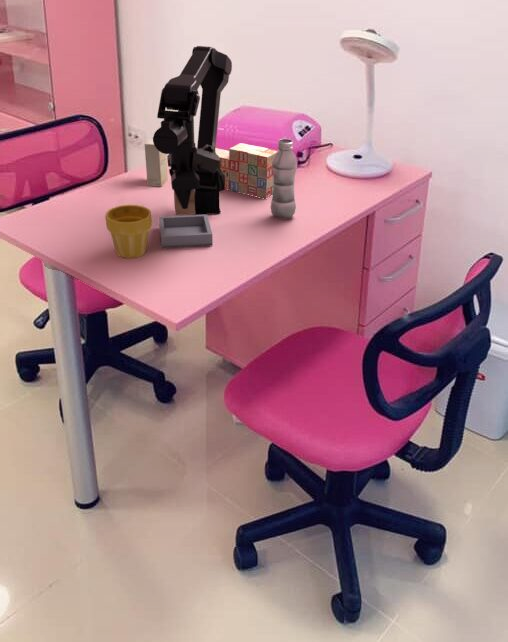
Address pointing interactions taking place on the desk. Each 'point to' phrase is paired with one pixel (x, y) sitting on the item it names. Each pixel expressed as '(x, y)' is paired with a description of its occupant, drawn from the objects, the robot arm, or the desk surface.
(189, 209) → the walnut block
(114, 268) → the desk surface
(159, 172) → the skincare box
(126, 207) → the plant pot
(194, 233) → the tray
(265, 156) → the stack of blocks
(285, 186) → the plastic bottle
